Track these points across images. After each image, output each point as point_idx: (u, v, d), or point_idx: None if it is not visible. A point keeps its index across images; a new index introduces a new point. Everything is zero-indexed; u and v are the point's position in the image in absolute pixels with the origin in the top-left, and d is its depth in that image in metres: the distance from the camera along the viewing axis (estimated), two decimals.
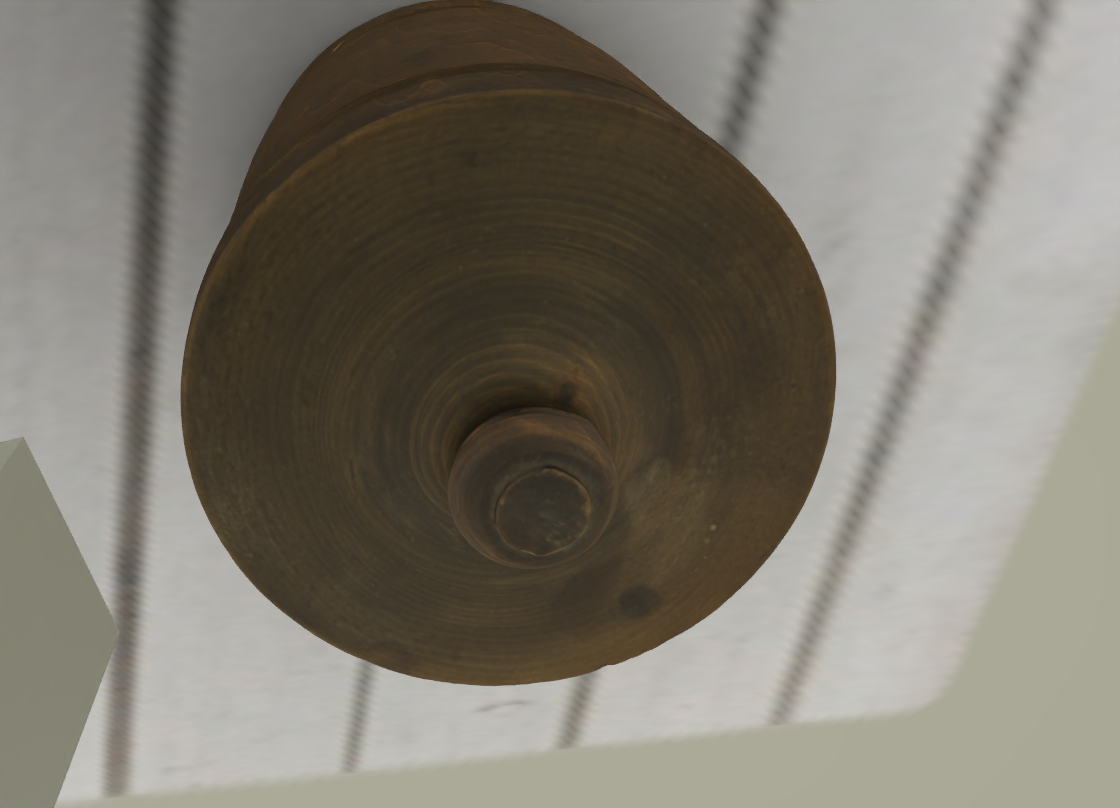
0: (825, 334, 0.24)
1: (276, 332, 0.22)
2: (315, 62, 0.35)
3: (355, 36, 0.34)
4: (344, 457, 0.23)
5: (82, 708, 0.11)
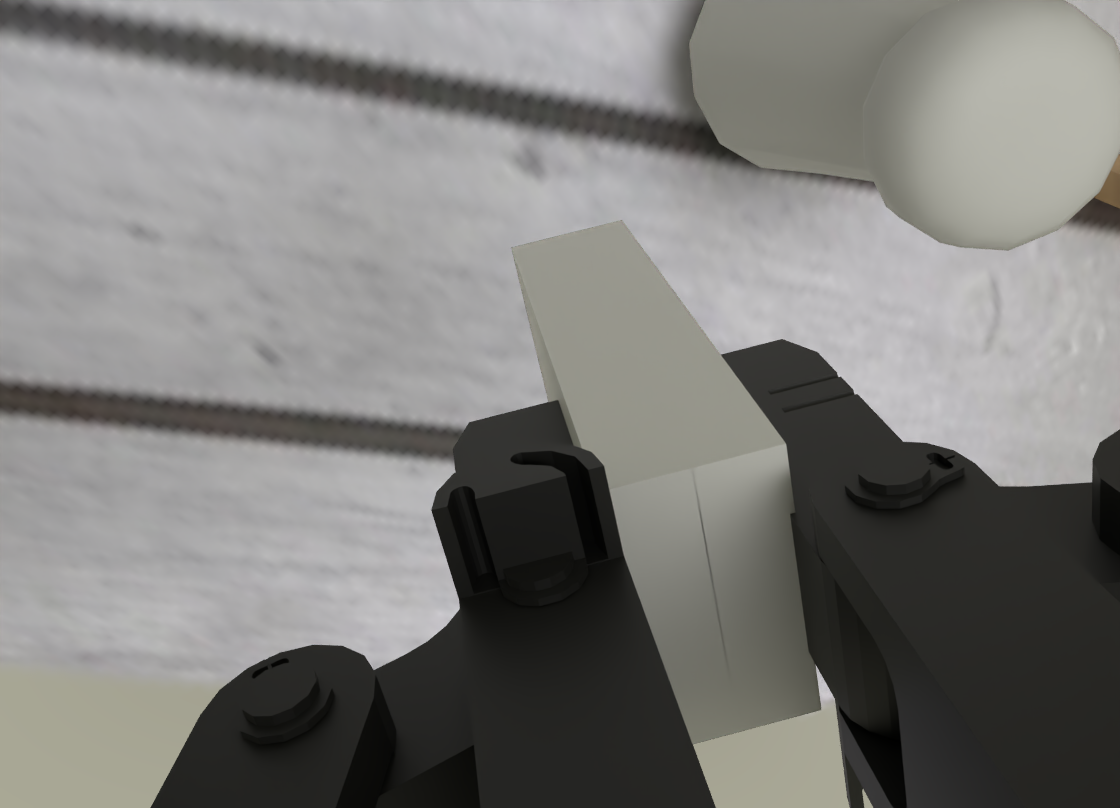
0: None
1: None
2: None
3: None
4: None
5: None
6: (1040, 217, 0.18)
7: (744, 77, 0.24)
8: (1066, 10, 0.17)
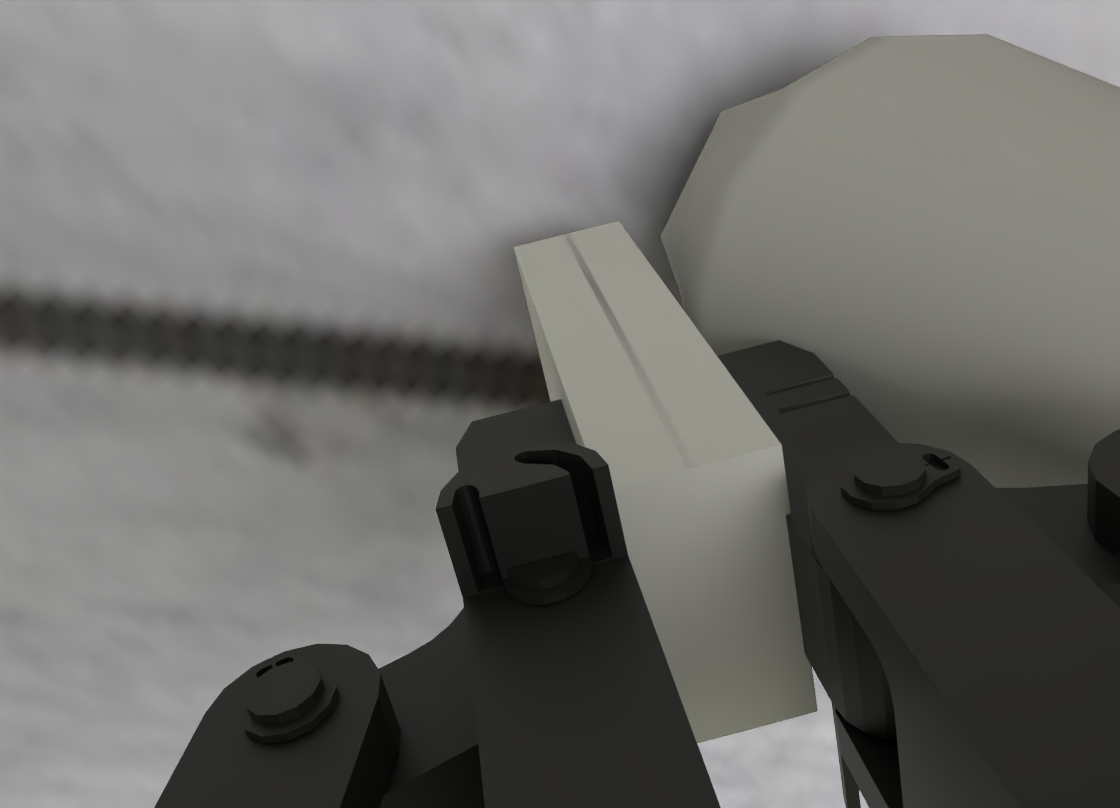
0: None
1: None
2: None
3: None
4: None
5: None
6: None
7: (903, 412, 0.10)
8: None
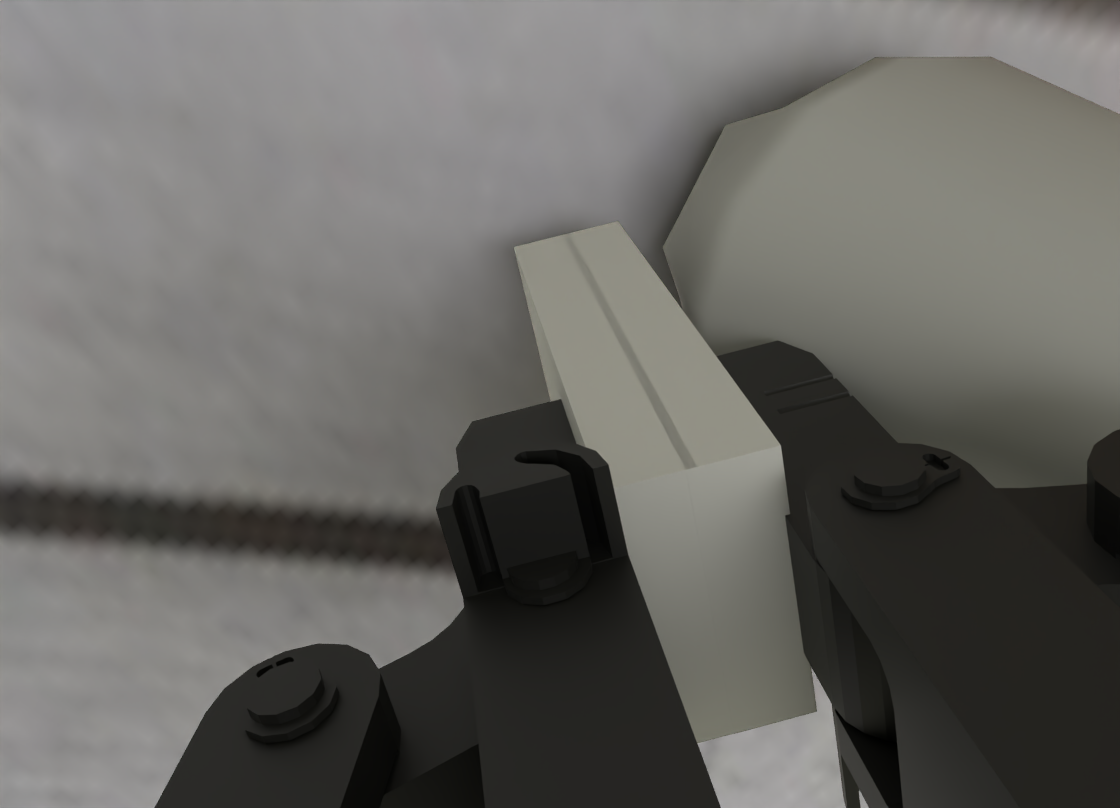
0: None
1: None
2: None
3: None
4: None
5: None
6: None
7: (902, 430, 0.11)
8: None
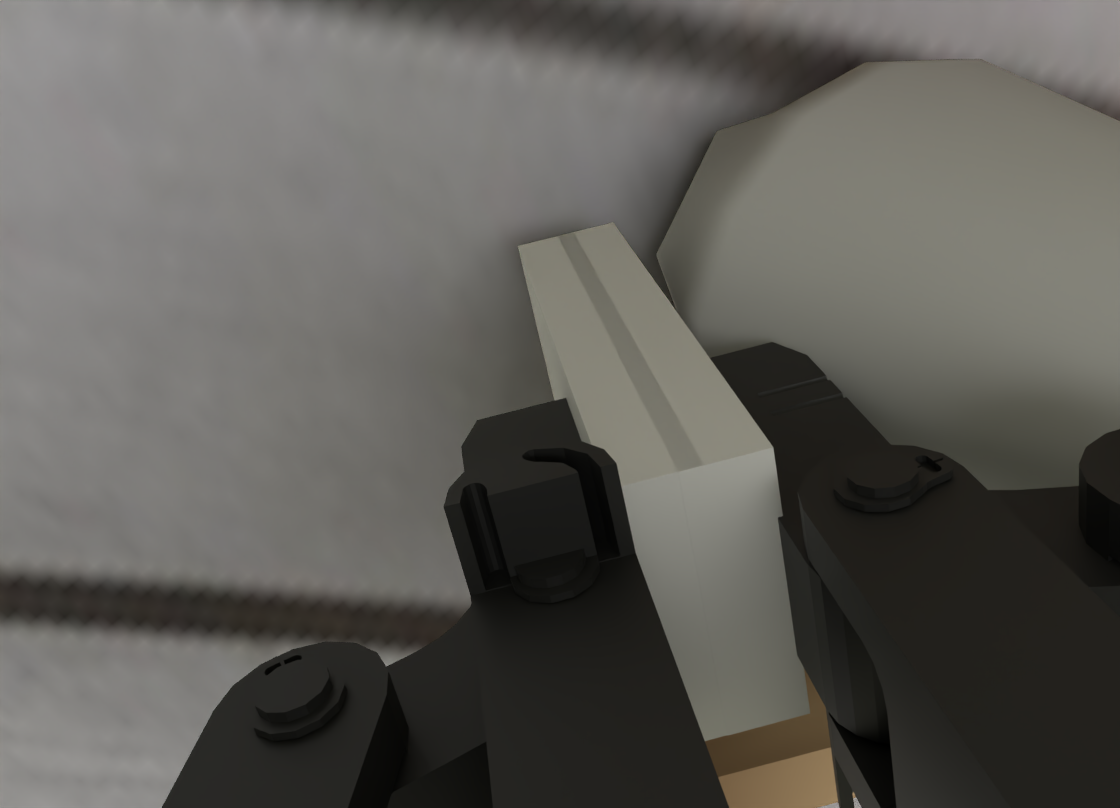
0: None
1: None
2: None
3: None
4: None
5: None
6: None
7: (896, 440, 0.11)
8: None
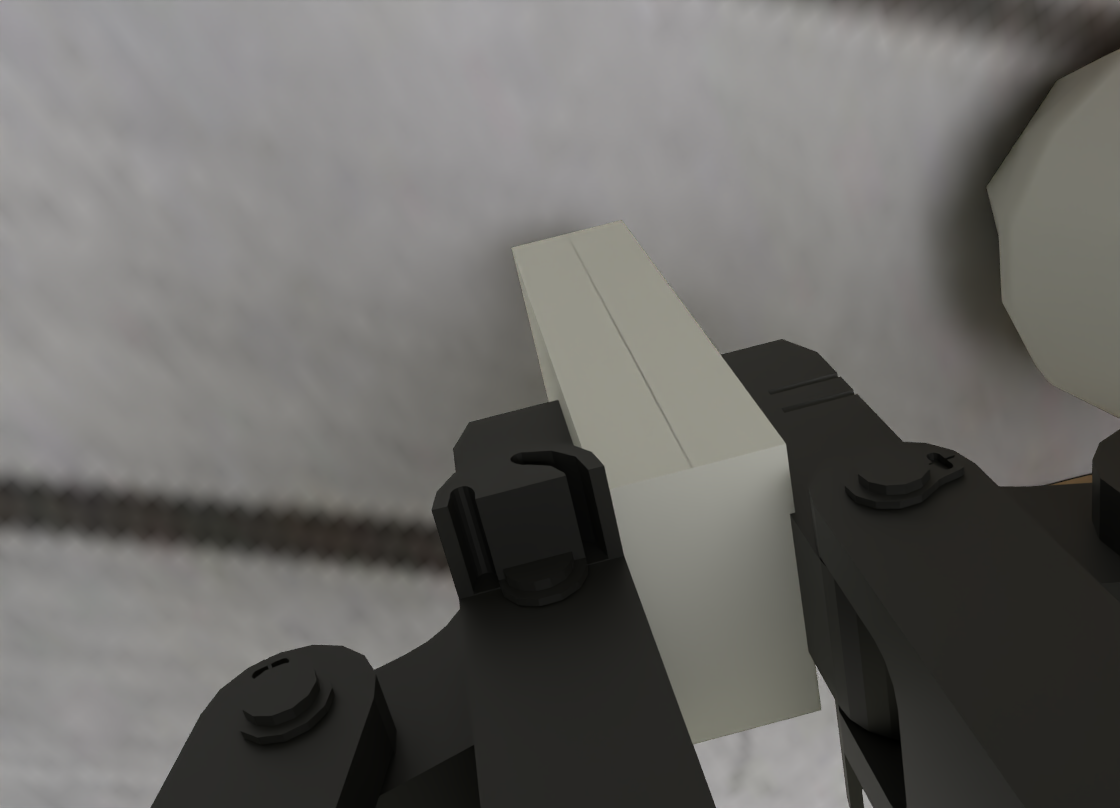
0: None
1: None
2: None
3: None
4: None
5: None
6: None
7: None
8: None
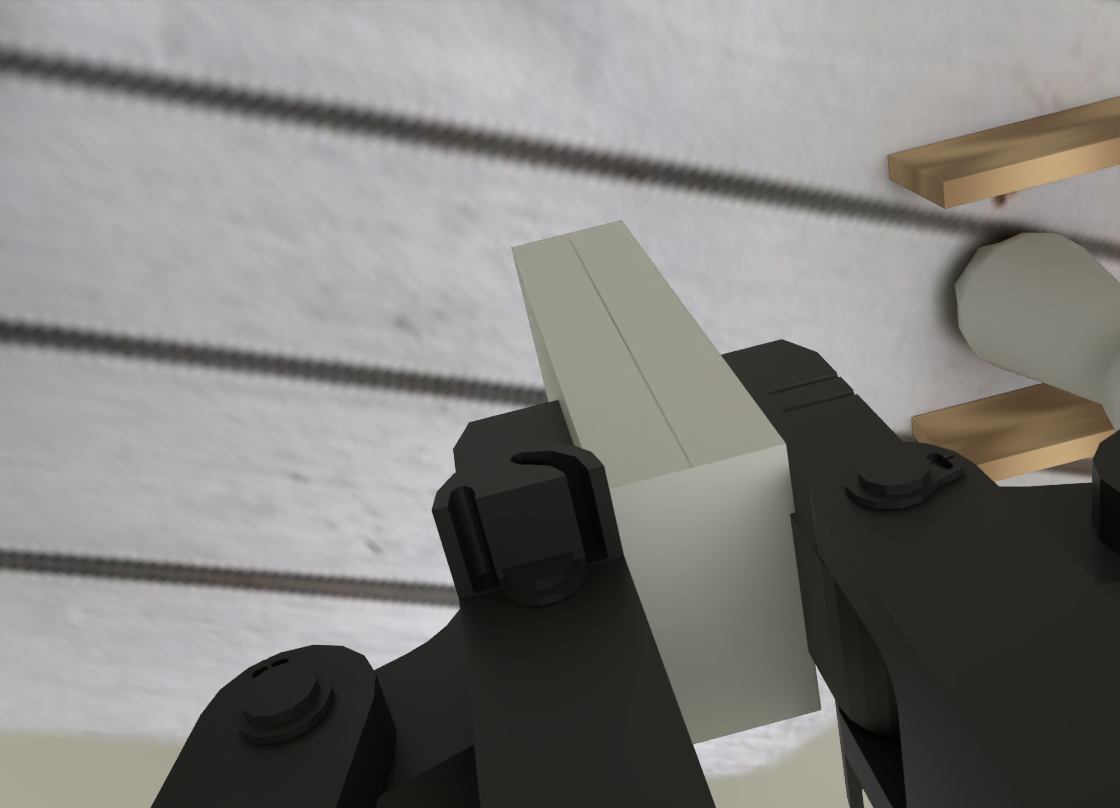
0: None
1: None
2: None
3: None
4: None
5: None
6: None
7: (1006, 334, 0.41)
8: None
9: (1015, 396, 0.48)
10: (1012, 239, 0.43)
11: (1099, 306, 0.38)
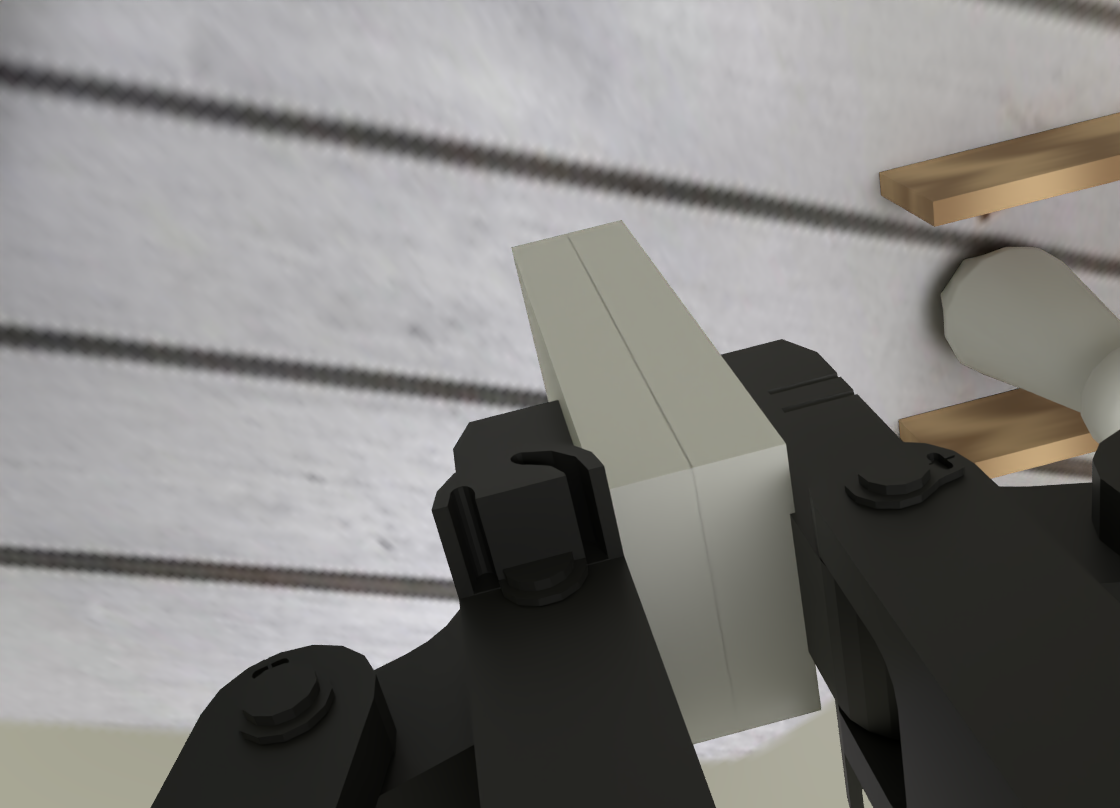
0: None
1: None
2: None
3: None
4: None
5: None
6: None
7: (990, 343, 0.44)
8: None
9: (996, 400, 0.50)
10: (996, 253, 0.45)
11: (1077, 319, 0.41)
